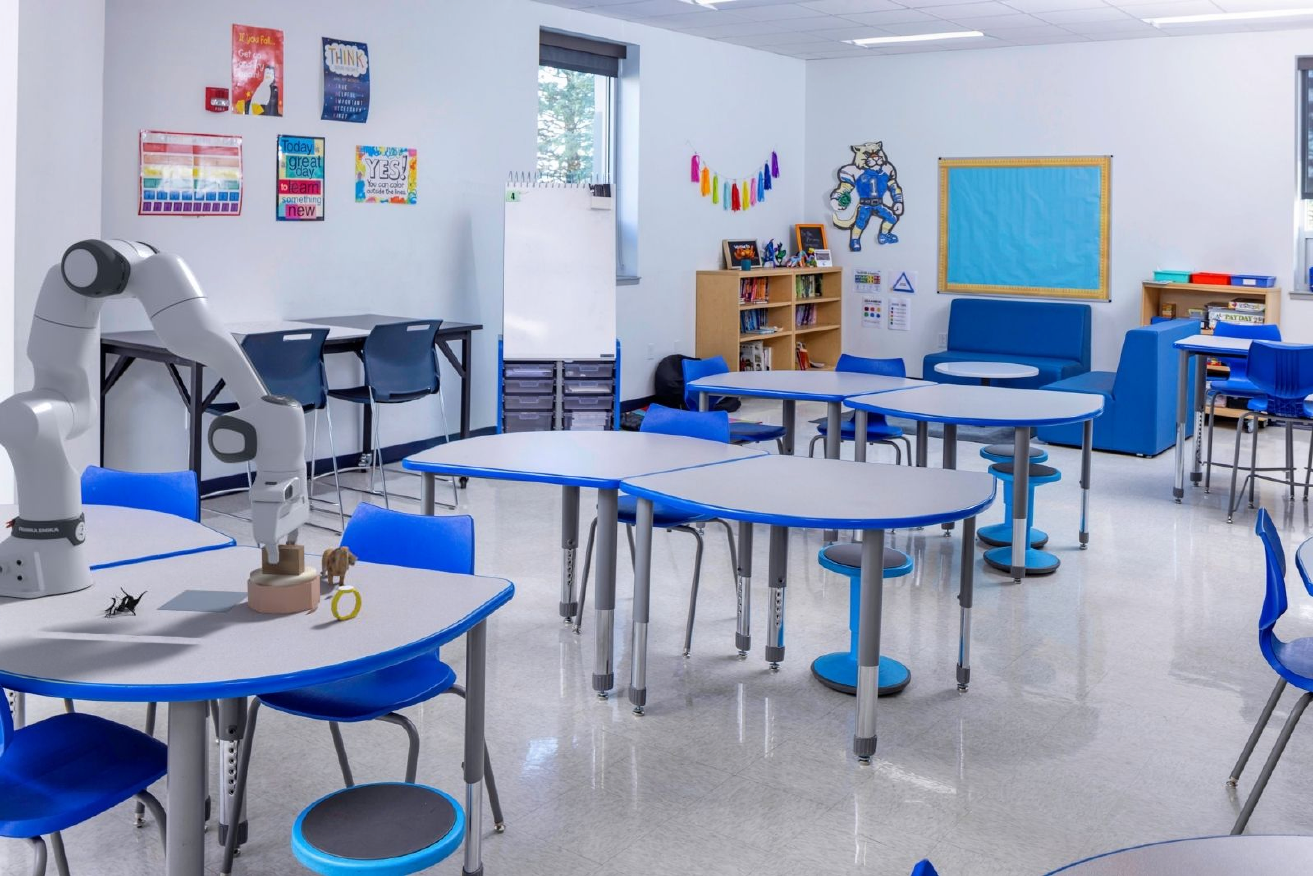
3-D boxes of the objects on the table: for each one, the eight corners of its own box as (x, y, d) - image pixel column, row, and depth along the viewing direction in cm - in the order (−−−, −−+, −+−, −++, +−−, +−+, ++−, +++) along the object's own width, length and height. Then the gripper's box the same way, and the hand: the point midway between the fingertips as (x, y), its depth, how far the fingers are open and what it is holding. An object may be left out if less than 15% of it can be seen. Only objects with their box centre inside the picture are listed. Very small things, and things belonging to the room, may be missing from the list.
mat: (156, 614, 227) (156, 609, 227) (186, 594, 240) (186, 589, 240) (226, 617, 227) (226, 612, 227) (252, 597, 240) (252, 592, 240)
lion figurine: (360, 591, 246) (360, 547, 245) (334, 595, 243) (334, 550, 241) (332, 574, 258) (332, 532, 256) (307, 578, 255) (306, 535, 253)
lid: (239, 585, 226) (239, 553, 225) (263, 568, 238) (263, 537, 237) (304, 587, 226) (304, 555, 225) (325, 570, 238) (324, 540, 237)
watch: (339, 624, 225) (336, 593, 224) (329, 621, 227) (327, 590, 226) (365, 615, 230) (363, 584, 229) (355, 612, 232) (353, 582, 230)
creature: (125, 632, 221) (156, 611, 228) (118, 605, 219) (150, 585, 226) (90, 626, 223) (122, 606, 230) (84, 600, 221) (116, 580, 228)
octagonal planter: (240, 617, 227) (240, 585, 226) (264, 598, 239) (263, 568, 238) (305, 619, 227) (305, 587, 226) (325, 601, 239) (325, 570, 238)
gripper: (284, 472, 240) (285, 542, 242) (244, 493, 219) (246, 569, 222) (316, 473, 239) (317, 543, 241) (280, 494, 219) (281, 570, 221)
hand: (283, 556), depth 231 cm, fingers open, 8 cm apart
